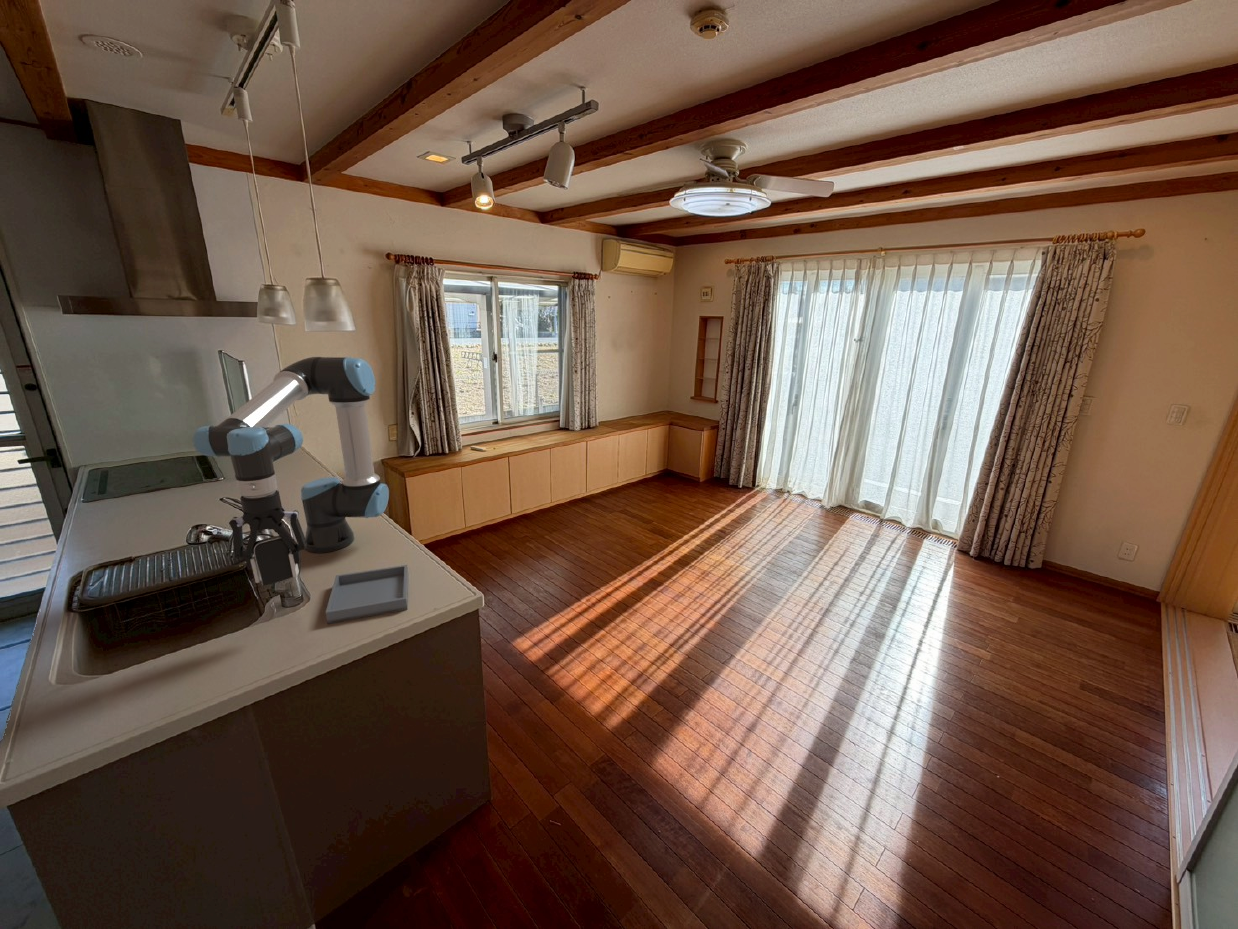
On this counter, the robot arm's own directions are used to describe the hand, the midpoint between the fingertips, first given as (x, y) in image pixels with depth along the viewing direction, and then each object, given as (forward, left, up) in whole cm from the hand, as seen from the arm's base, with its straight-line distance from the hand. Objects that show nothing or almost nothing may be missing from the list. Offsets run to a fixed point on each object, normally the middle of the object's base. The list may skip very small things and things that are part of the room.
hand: (277, 577), depth 122 cm
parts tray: (-8, +19, -15) cm, 25 cm away
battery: (0, 0, -1) cm, 1 cm away
